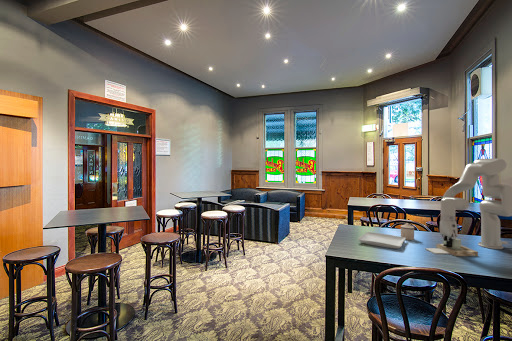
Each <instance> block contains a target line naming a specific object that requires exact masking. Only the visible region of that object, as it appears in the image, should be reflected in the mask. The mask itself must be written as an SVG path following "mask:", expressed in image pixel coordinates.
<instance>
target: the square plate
mask: <svg viewBox="0 0 512 341" xmlns="http://www.w3.org/2000/svg"><path fill="white" fill-rule="evenodd" d="M405 239H406V238H405V237H401V236H398V235H393V234H386V233H379V232H373V231H372V232H371V231H365V233H364V234H362V235H361V236H359V237H358V238H357V240H358V241H359V243H362V244H366V245H370V246H376V247H381V248H388V249H400V248H401V247H402V245H403V244H404V242H405V241H406V240H405Z"/></svg>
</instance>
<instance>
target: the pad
mask: <svg viewBox="0 0 512 341" xmlns="http://www.w3.org/2000/svg"><path fill="white" fill-rule="evenodd" d="M425 250H426V251H428V252H430V253H432V254H434V255H450V254H449V253H448V252H446V251H444V250H442V249H440V248H435V247H434V248H433V247H431V248H430V247H428V248H426V247H425Z"/></svg>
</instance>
